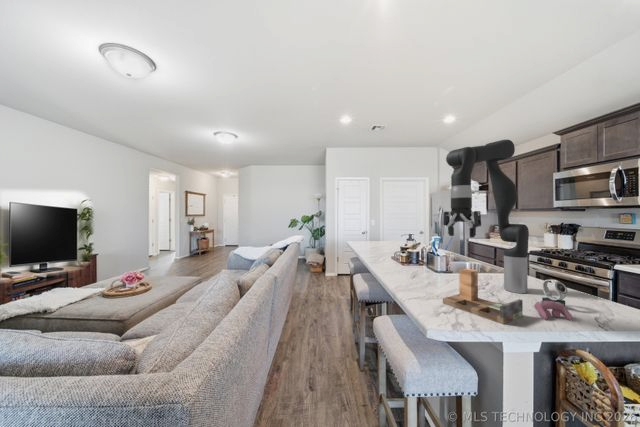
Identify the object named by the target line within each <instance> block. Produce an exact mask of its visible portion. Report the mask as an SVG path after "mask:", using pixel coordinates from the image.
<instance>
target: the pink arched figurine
mask: <svg viewBox="0 0 640 427" xmlns="http://www.w3.org/2000/svg"><path fill="white" fill-rule="evenodd" d="M533 305H534V308H535V310H536V312H537V313H538V315H539V316H540V317H541V319H543V320H545V321H547V320H548V318H549V317H551V316H552V317H554V318H560V317H561V315H562V316H563V317H564V318H566V319H567V320H568V319H569V320H568V321H570V320H572V321H573V320H574V317H573V315H572V314H571V312H569V310H568V309H567V307H566V305H565V306H564V305H562V304H561V303H560V302H554V301H542V300H541V301H538V302H535V303H534V304H533ZM549 310H551V311H549Z"/></svg>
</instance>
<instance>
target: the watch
mask: <svg viewBox="0 0 640 427" xmlns="http://www.w3.org/2000/svg"><path fill="white" fill-rule="evenodd" d="M550 282H551V285H552V289H553V291H555V293H556V294H557V296H558V297H555V296H553V295H552V293H551V291H550V289H549V286H548V283H550ZM541 288H542V292H543V294H544V296H545V297H542V298H541V301H554V302H560V303H561V304H562V305H564V306H565V307H566V300H564V299H565V298H566V297H567V293H568V288H567V286H566V285H565V284H564V283H563V282H561V281H559V280H557V279H545V280H543V282H542V284H541Z"/></svg>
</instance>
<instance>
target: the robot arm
mask: <svg viewBox="0 0 640 427" xmlns="http://www.w3.org/2000/svg"><path fill="white" fill-rule="evenodd" d="M515 148H516V147H515V144H514V142H513V141H512V140H510V139H501V140H496V141H493V142H489V143H486V144H485V145H477V146H475V145H474V146H465V147H461V148H457V149H456V148H455V149H453V150H451V151H449V152H448V153H447V155H446V157H445V161H446V164H447V165H448V166H449V167H453V168H457V167H460V169H458V171H457V170H456V171H455V172H453V173H451V177H450V179H451V181H450V182H451V183H450V184H451V187H450V209H451V211H448V210H447V211H444V212H443V223H442V224H443V225H444V226H446V227H447V233H448V235H449V236H450V237H453V236H455V225H456V223H460V222H461V223H466V224H467V226H468V227H469V238H475V237H476V235H477V228H478V227H482V217H481V214H482V213H481V211H480V210H476V211H475V210H474V211H473V210H472V207H473V204H472V203H473V199H472V198H473V196H472V195H473V193H472V192H473V190H472V172H473V169H474V166H475V164H477V163H482V162H485V164H486V168H487V171H488V173H489V179H490V184H491V189H492V190H491V191H492V194H493V200H494V205H495V209H496V214H497V223H498V225H497V226H498V233H499V237H500V239H501V241H503V242H506V243H515V246H514V247H510V248H506V249H504V250H503V290H505V291H508V292H510V293H514V294H515V293H517V294H527V293H528V290H529V289H528V278H529V277H528V254H529V253H528V252H529V238H530V237H529V236H530V232H529V227H528V226H527V225H526V224H522V223H518V224H517V223H510V220H509V216H510V214H511V211H512V209H513V208H514V207H515V205H516V203H517V201H518V199H519V198H518V191H517V186H516V184H515V182H514V181H513V180H512V179H511V178H510V177H509V176H507V174H505V173H504V171H503V170H502V169H501V168H500V167H501V166H500V165H499V162H498V161H500V162H501V161H506V160H509V159H511V158H512V157H513V156H514V155H515V153H516V152H515V150H516V149H515ZM472 217H473V218H472Z"/></svg>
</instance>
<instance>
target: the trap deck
mask: <svg viewBox="0 0 640 427" xmlns="http://www.w3.org/2000/svg"><path fill="white" fill-rule="evenodd" d="M442 304H444V305H447V306H450V307H453V308H456V309H458V310H462V311H464V312H467V313H469V314H473V315H476V316H478V317H481V318H485V319H488V320H491V321H493V322H496V323H499V324H502V325H505V324H507V323H509V322H512V321H514V320H516V319H518V318H521V317H523V312H524V311H523V310H524V309H523V299H516V300H513V301H511V302H508V303H505V304H501V303H498V302H494V301H490V300H487V299H484V298H480V297H478V299H475V300H472V301H471V300H467V299H464V298H461V297H460V293H458V294H455V295H451V296H447V297H443V298H442Z"/></svg>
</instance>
